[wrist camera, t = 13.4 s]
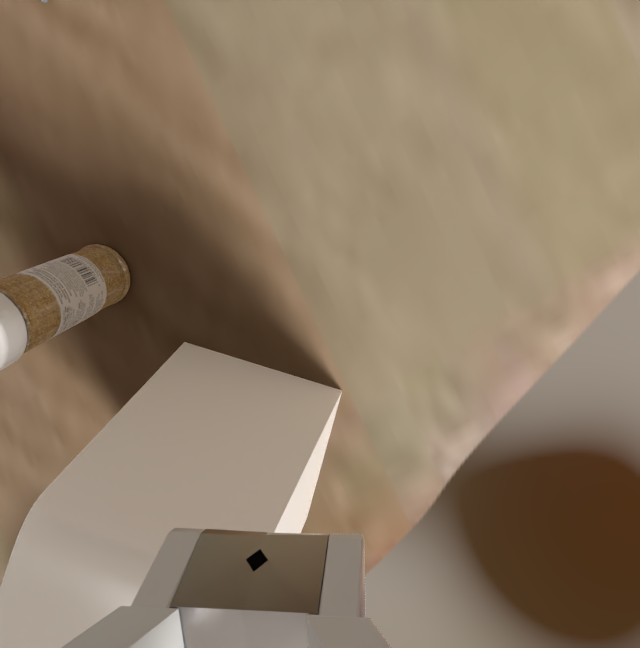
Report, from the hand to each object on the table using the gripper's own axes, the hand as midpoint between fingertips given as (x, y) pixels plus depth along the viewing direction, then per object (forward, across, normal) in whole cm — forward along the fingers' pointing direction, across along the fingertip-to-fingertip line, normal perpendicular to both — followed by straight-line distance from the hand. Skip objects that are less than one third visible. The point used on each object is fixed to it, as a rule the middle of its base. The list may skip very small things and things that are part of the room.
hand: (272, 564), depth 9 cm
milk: (+32, +9, +16) cm, 36 cm away
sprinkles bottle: (+33, +18, +4) cm, 38 cm away
